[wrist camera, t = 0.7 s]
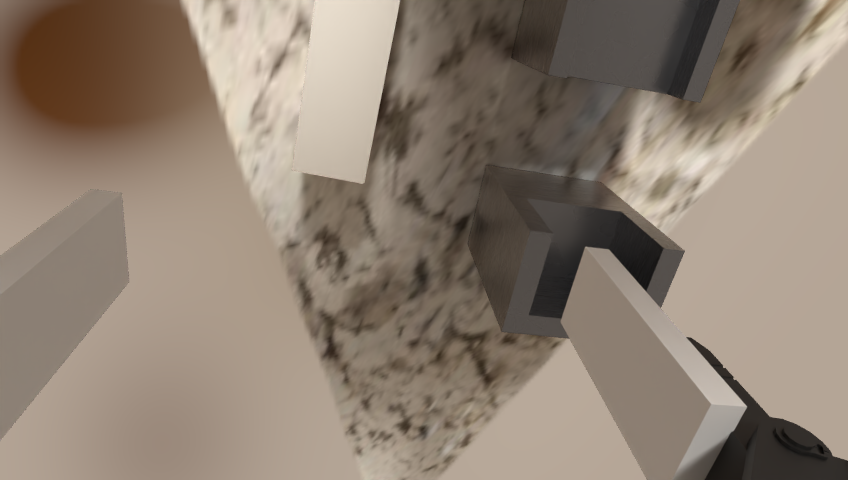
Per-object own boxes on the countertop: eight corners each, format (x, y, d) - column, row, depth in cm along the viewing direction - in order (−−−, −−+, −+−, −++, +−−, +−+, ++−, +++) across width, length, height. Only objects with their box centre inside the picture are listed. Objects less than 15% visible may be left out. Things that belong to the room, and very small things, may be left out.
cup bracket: (486, 164, 36) (530, 230, 26) (600, 182, 37) (684, 251, 27) (467, 243, 38) (501, 331, 28) (576, 257, 40) (644, 346, 30)
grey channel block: (536, -50, 31) (584, -62, 24) (667, -21, 32) (749, -25, 25) (511, 58, 33) (547, 74, 26) (634, 80, 34) (700, 102, 27)
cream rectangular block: (339, -105, 29) (332, -128, 23) (411, -85, 29) (420, -102, 24) (304, 142, 34) (291, 170, 29) (365, 154, 35) (364, 184, 30)
